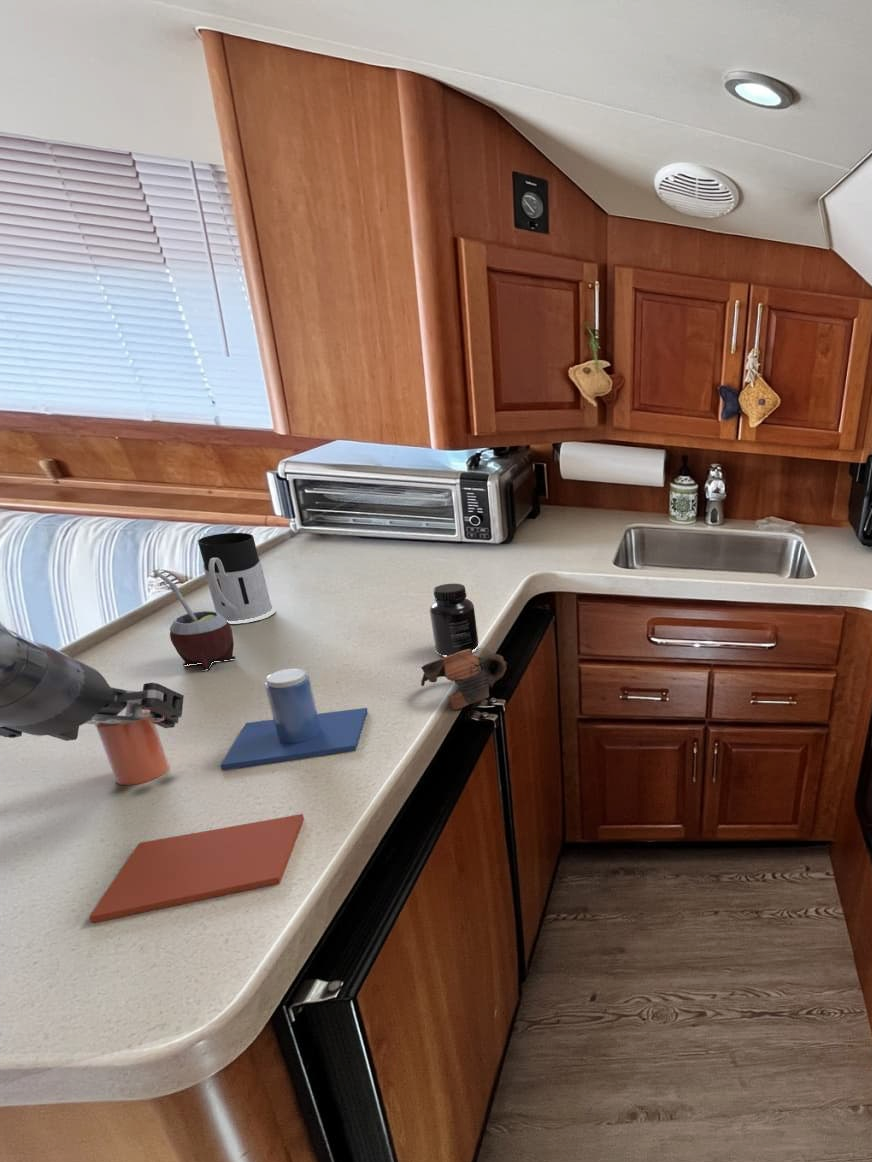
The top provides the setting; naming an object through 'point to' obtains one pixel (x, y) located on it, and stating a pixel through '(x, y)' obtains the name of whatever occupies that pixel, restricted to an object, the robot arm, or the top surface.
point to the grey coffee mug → (235, 576)
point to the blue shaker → (292, 706)
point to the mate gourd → (200, 634)
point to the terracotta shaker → (133, 750)
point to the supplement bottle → (453, 620)
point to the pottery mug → (466, 675)
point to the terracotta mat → (200, 867)
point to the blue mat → (265, 747)
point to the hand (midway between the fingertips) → (123, 725)
